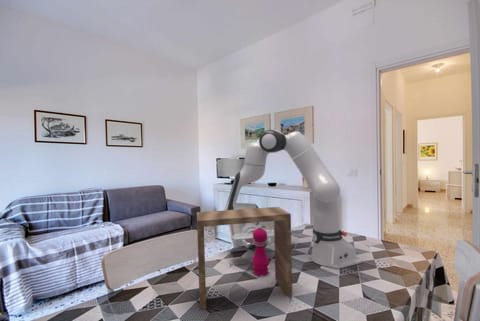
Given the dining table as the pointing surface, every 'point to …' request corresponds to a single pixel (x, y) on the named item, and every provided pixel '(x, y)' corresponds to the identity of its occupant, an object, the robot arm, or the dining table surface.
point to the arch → (250, 216)
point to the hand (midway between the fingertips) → (258, 244)
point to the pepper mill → (260, 252)
